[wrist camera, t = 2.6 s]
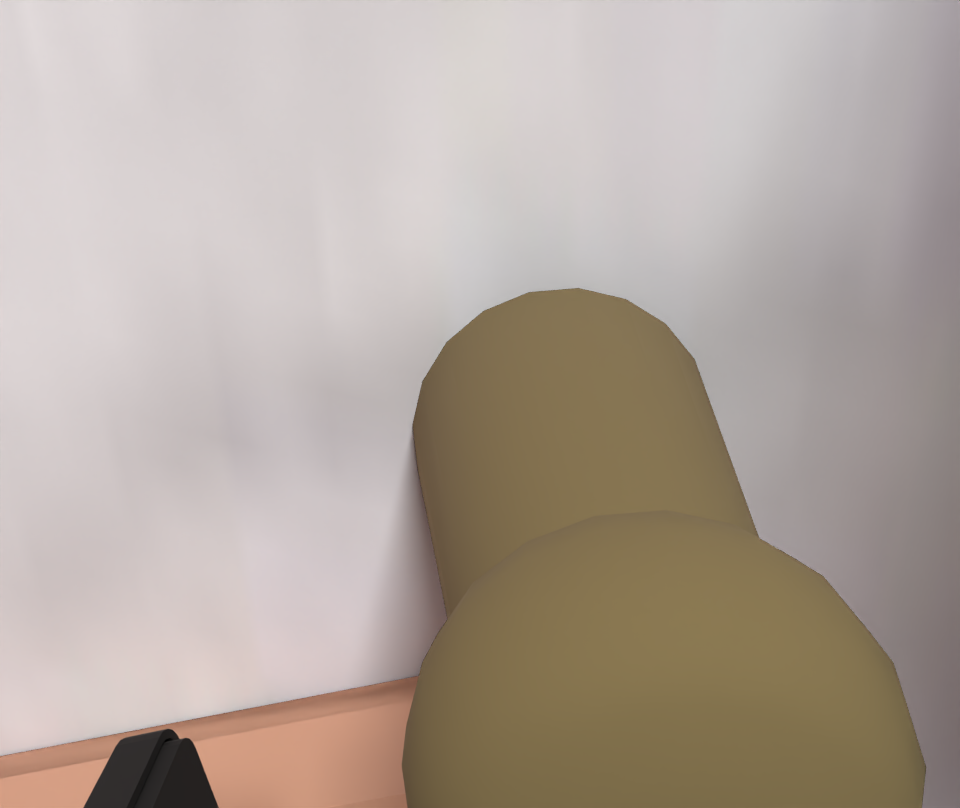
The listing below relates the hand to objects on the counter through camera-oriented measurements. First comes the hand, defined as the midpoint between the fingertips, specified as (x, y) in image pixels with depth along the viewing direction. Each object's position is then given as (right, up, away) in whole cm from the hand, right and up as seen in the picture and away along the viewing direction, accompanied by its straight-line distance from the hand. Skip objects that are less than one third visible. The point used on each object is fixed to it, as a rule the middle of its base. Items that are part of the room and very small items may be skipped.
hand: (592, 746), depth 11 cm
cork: (0, +3, +8) cm, 8 cm away
